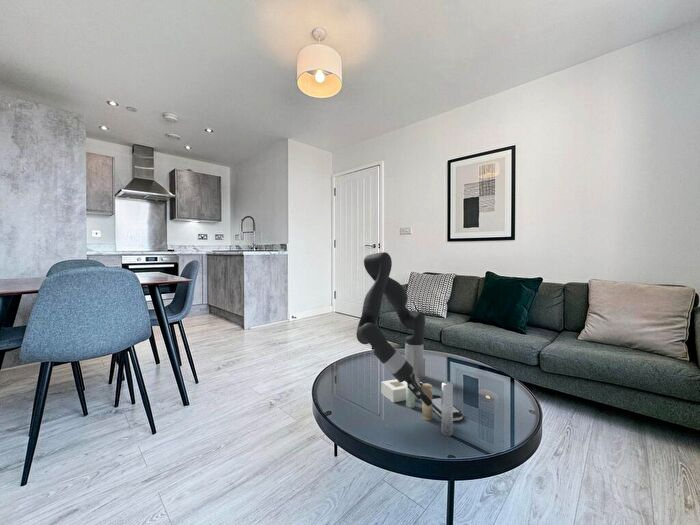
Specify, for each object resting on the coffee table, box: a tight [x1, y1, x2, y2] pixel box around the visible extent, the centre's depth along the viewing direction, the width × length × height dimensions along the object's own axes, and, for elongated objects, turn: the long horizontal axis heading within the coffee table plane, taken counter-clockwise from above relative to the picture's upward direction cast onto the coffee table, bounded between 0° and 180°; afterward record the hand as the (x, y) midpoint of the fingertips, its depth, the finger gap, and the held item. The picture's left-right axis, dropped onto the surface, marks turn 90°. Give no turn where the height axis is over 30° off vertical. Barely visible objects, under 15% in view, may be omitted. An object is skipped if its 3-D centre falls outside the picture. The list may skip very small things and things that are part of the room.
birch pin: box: [421, 383, 433, 421], centre depth 108 cm, size 4×4×12 cm
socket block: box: [380, 378, 407, 403], centre depth 126 cm, size 10×10×12 cm
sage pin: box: [405, 385, 416, 409], centre depth 117 cm, size 4×4×8 cm
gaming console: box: [432, 394, 464, 423], centre depth 114 cm, size 19×9×2 cm, turn 12°
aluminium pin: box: [440, 380, 454, 437], centre depth 98 cm, size 4×4×16 cm
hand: (429, 399), depth 107 cm, fingers open, 8 cm apart
